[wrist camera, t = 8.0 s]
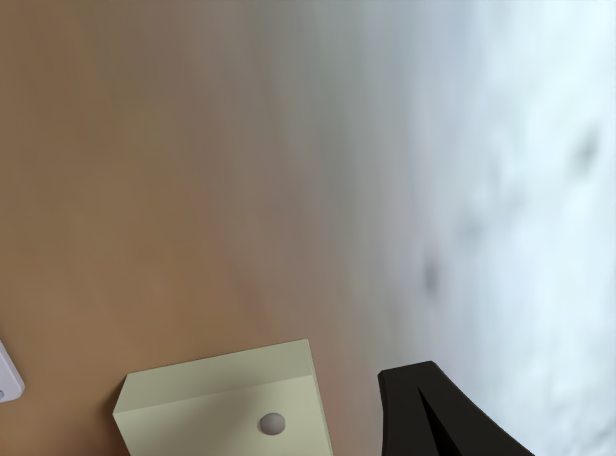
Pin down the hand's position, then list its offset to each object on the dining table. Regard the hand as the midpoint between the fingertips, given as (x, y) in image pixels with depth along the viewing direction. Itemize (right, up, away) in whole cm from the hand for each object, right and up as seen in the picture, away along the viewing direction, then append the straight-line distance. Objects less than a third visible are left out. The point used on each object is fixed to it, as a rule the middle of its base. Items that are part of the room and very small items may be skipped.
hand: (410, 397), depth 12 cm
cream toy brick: (-6, -5, +11) cm, 14 cm away
